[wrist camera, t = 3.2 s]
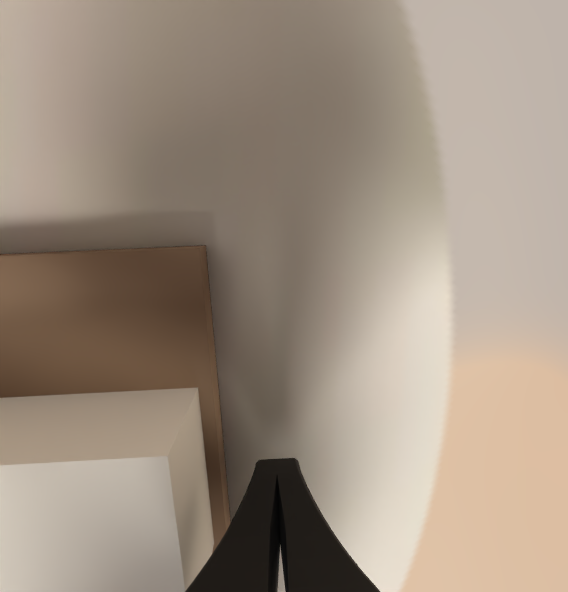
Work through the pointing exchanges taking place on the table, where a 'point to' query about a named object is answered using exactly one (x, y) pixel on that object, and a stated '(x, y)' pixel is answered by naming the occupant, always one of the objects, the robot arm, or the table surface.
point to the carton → (103, 492)
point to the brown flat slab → (115, 333)
